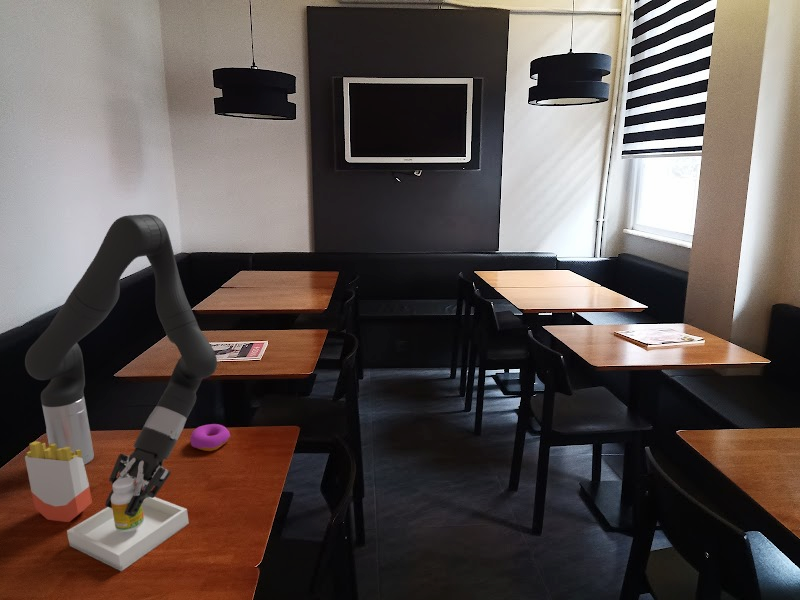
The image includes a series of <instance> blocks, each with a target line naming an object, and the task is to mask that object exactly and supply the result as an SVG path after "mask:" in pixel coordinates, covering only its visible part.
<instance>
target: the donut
mask: <svg viewBox="0 0 800 600" xmlns="http://www.w3.org/2000/svg"><path fill="white" fill-rule="evenodd" d="M229 438H231V434H230V431H229V429H227V427H226V426H224V425H222V424H217V423H211V424H205V425H201V426H198V427H196V428H194V430H193V431H192V433H191V435H190V438H189V439H190V444H191V446H192V447H193V448H196V449H198V450H201V451H204V452H214V451H216V450H218V449H220V447H222V446H223V445H225V444H226V443H228V441H229Z"/></svg>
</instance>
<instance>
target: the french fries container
mask: <svg viewBox="0 0 800 600" xmlns="http://www.w3.org/2000/svg"><path fill="white" fill-rule="evenodd" d="M46 446H47V447H46ZM24 459H25V460H24V461H25V464H26V471H27V474H28V475H27V476H28V481H29V486H30V490H31V496H32V501H33V505H34V506H33V507H34V509H35V510H36V511H37V512H38V513H39V514H41V515H42V516H43V517H44V519H46V520H48V521H54V522H64V523H70V522H71V521H72V520H74V519H75V518H76V517H78V516H79V515H80V514H81V513H83V512H84V510H86V509H87V508H88V507H89V506H90V505H91V504H92V503H93V499H92V494H91V493H92V492H91V488H90V483H89V479H88V475H87V472H86V467H85V465H84V463H83V459H82V452H81V450H76V451H75V455H74V452H72V451H71V447H64V448H59V449H58V450H57V445H56V444H53V443H51V444H49V443H48V445H46V442H41V441H36V440H35V441H33V442H30V443H29V451H27V452H26V455H25V456H24Z"/></svg>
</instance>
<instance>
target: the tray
mask: <svg viewBox="0 0 800 600" xmlns="http://www.w3.org/2000/svg"><path fill="white" fill-rule="evenodd" d="M142 509H143V515H144V521H143V523H142V525H141V526H139V527H138V528H136V529H134V530H132V531H127V532H120V531H118V530H117V529H116V528H115V522H114V516H113V510H112V508H109V507H107V506H106V507H105V508H103V509H101V510H100V511H98V512H97V513H95V514H93V515H92V516H90V517H88V518H87V519H85V520H82V522H79V523H77V524H76V525H75V526H73V527H71V528H69V529H67V530H66V532H67V539H68V543H69V545H68V546H69V547H71V548H73V549H75V550H77V551H79V552H81V553H83V554H85V555H87V556H89V557H91V558H93V559H95V560H97V561H100V562H101V563H104V564H106V565H107V566H110V567H112V568H114V569H116V570H118V571H120V572H123V571H124V570H125V569H127V568H128V567H129V566H131V565H133V564H134V563H135V562H136V561H138V560H139V559H141V558H142V557H144V556H145V555H146V554H148V553H149V552H151V551H153V549H155V548H157V547H158V546H160V545H161V544H162V543H163V542H165V541H166V540H168V539H169V538H170V537H172V536H173V535H176V533H178V532H179V531H181V530H182V529H183V528H185V527H186V526H187V525H189V516H188V515H189V514H188V509H187V508H186V507H183V506H179V505H177V504H175V503H172V502H169V501H167V500H164V499H161V498H159V497H156V496H155V497H154V498H151V497H149V498H146V499H144V501H143V503H142Z"/></svg>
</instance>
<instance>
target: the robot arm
mask: <svg viewBox="0 0 800 600" xmlns="http://www.w3.org/2000/svg"><path fill="white" fill-rule="evenodd" d="M173 250H174V249H173V246H172V242H171V238H170V235H169V231H168V229H167V227H166V225H165V223H164V221H163V220H162V219H161V218H160V217H158V216H156V215H154V214H133V215H131V214H128V215H124V216H121V217H119V218H116V220H115V221H113V222H112V224H111V225H110V227H109V228H108V230H107V232H106V234H105V236H104V238H103V240H102V242H101V245H100V247H99V248H98V251H97V253H96V254H95V256H94V258H93V260H92V261H90V264H89V266H88V267H87V269H86V270H85V272H84V274H83V275H82V276H81V278H80V279H79V280H78V282H77V283H76V285H75V286H74V288H73V289H72V291H71V292H70V294H69V295H68V297H67V298H66V300H65V302H64V303H63V305H62V306H61V308H60V309H59V311H58V312H57V314H56V315H55V316H54V318H53V319H52V321H51V322H50V324H49V325H48V327H47V328H46V329H45V330H44V331H43V332H42V333H41V335H40V336H39V337H38V338H37V339H36V341H35V342H33V343H32V345H31V346H30V347H29V348H28V350H27V352H26V355H25V358H24V366H25V369H26V372H27V374H28V375H29V376H31V378H33V379H35V380H39V381H47V380H50V382H49V383H48V384H47V386H46V387H45V388H44V389H43V390H42V391H41V393H40V401H41V406H42V411H43V412H42V413H43V416H44V421H45V427H46V429H45V431H46V437H47V442H48V445H49V444H51V443H53V444H56V445H57V450H58V449H59V448H64V447H71V451H72V452H74V455H75V451H76V450H81V452H82V459H83V463H84V466H85V465H86V464H88V463H90V462H91V461H92V460H93V459H94V458H95V454H94V448H93V447H94V446H93V441H92V435H91V428H90V424H89V418H88V411H87V405H86V399H85V394H84V388H85V387H86V376H85V366H84V358H83V352H82V349H81V346H80V345H79V344H78V343H79V342H80V341H81V340H82V339H83V338H85V337H86V336H87V335H89V334H90V333H91V332H93V330H95V329H96V328H97V327H98V326H99V325H100V324H101V323H103V321H104V320H105V319H106V318H107V317H108V315H109V314H110V313H111V311H112V310H113V308H114V307H115V305H116V304H117V302H118V300H119V299H120V294H121V293H120V291H121V290H120V289H121V287H120V280H121V277H122V275H123V273H124V272H125V271H126V269H127V268H128V267H129V266H130V265H131V263H132V262H134V260H136V259H137V258H140V257H146V258H147V260H148V261H149V263H150V266H151V268H152V270H153V271H152V272H153V274H154V279H155V301H154V302H155V309H156V314H157V316H158V318H159V321H160V323H161V325H162V327H163V331H164V332H165V335H166V336H167V339H168V340H169V342H170V343H173V344H174V345H175V346H176V348H177V350H178V351H179V353H180V355H181V356H180V357H179V359H178V360H177V363H176V365H175V366H174V369H173V371H172V372H171V376H170V379H169V381H168V383H167V386H166V388H165V390H164V391H163V393H162V395H161V397H160V399H159V400H158V402H157V404H156V406H155V408H154V409H153V411H151V413H150V415H149V416H148V418H147V419H146V421H145V424H144V425H143V427H142V429H141V431H140V433H139V434H138V436H137V438H136V439H135V441H134V444H133V447H134V448H135V449H134V451H133V452H131V454H130V455H126V454H124V453H120V454H119V455H118V457H117V458H116V461H115V465H114V467H113V469H112V471H111V474H110V475H109V480H108V481H109V482H110V483H111V484H112V485H113V483H114V482H115V481H117V480H119V479H122V478H127V477H130V478H133V479H134V482H135V485H136V486H135V487H136V491H135V495H136V496H134V495H133V497H132V499H131V501H130V503H129V504H128V506H127V508H126V510H125V512H124V514H125V515H128V516H131V517H134V516H135V515H136V513H137V512H138V510H139V508H140V506H141V505H142V503H143V501H144V499H146V498H149V497H151V498H154V497H156V496H157V494H158V493H159V491H160V490H161V488H162V487H163V485H165V482H166V481H167V480H168V478H169V476H170V475H171V471H170V470H169V469H167V468H164V467H163V463H164V461H165V460H168V459H169V457H170V455H171V453H172V451H173V449H174V447H175V445H176V444H177V442H178V440H179V437H181V434H182V432H183V430H184V429H185V428H184V427H185V426H186V425H185V424H186V423H187V422H186V421H187V419H188V418H189V415H190V414H191V412H192V410H193V409H194V406H195V405H196V400H197V394H196V393H197V391H198V389H199V388H200V385H201V383H202V382H203V380H204V379H206V378H210V377H211V376H212V375H214V373H215V372H216V370H217V368H218V367H217V366H218V359H217V355H216V353H215V349H214V348H213V347H212V345H211V343H210V342H209V340H208V338H207V337H206V335H205V334H204V333H203V332H202V331H203V330H201V329H200V326H199V324H198V321H197V318H196V316H195V315H194V312H193V310H192V307H191V305H190V303H189V301H188V299H187V295H186V293H185V289H184V287H183V284H182V280H181V278H180V274H179V269H178V266H177V265H178V264H177V261H176V258H175V254H174V251H173ZM113 493H114V492H113V488H112V490H111V491H110V493H109V495H108V497H107V498H106V501H105V504H104V505H105V507H106V508H107V507H109V508H112V504H111V496H112V494H113Z"/></svg>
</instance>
